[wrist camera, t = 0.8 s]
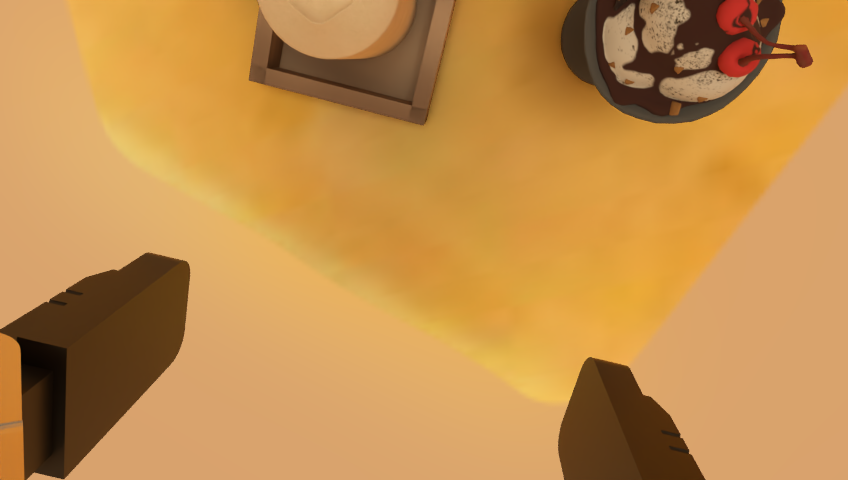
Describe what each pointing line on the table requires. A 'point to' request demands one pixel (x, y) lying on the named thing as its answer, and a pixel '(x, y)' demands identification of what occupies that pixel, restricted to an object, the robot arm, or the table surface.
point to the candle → (340, 25)
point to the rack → (363, 68)
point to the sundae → (673, 52)
